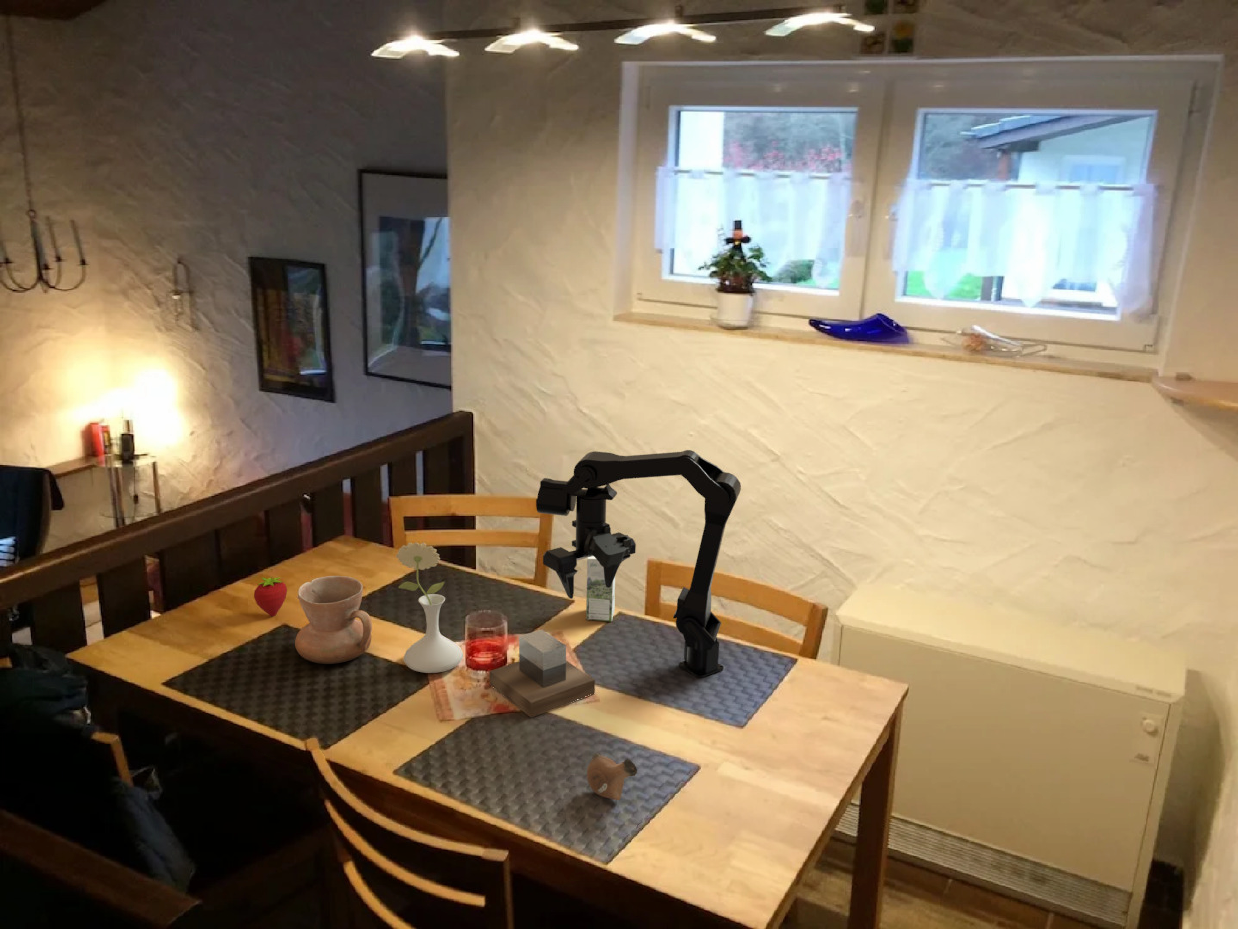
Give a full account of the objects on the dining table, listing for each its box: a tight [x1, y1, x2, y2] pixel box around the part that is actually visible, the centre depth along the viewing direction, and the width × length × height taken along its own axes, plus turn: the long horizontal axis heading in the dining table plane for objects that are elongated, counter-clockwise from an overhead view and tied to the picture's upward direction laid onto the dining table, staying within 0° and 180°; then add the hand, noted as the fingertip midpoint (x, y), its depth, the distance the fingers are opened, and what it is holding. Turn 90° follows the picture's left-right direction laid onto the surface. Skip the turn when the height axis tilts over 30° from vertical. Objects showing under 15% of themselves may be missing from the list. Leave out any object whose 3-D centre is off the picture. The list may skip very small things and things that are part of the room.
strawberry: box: [253, 576, 288, 617], centre depth 217 cm, size 6×8×10 cm
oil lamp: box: [586, 752, 638, 801], centre depth 159 cm, size 9×4×8 cm, turn 57°
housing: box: [518, 629, 567, 688], centre depth 189 cm, size 8×5×7 cm, turn 38°
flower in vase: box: [395, 542, 464, 674], centre depth 196 cm, size 13×11×25 cm
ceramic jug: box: [294, 575, 373, 665], centre depth 200 cm, size 18×14×14 cm
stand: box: [489, 660, 596, 718], centre depth 191 cm, size 14×14×3 cm
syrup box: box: [585, 556, 616, 622], centre depth 220 cm, size 6×6×14 cm
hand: (589, 592), depth 202 cm, fingers open, 9 cm apart
